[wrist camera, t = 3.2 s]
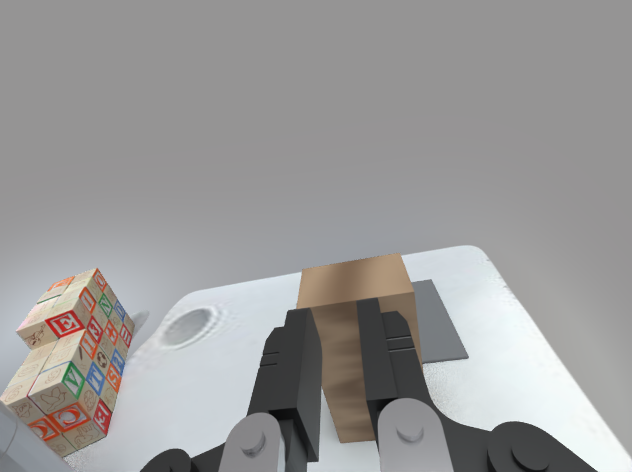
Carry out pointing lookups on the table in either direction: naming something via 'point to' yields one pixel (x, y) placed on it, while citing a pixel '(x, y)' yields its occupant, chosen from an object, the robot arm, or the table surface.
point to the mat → (435, 326)
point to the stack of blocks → (71, 362)
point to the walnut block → (353, 330)
